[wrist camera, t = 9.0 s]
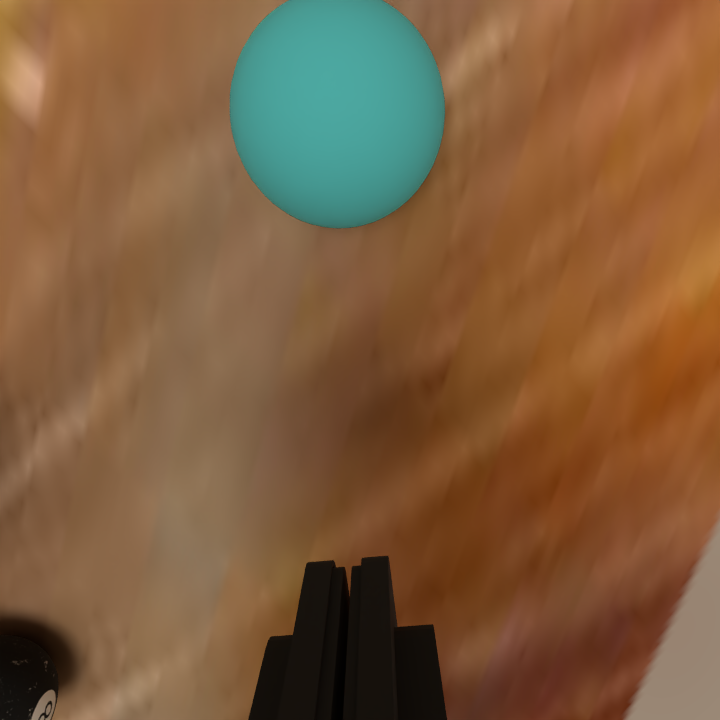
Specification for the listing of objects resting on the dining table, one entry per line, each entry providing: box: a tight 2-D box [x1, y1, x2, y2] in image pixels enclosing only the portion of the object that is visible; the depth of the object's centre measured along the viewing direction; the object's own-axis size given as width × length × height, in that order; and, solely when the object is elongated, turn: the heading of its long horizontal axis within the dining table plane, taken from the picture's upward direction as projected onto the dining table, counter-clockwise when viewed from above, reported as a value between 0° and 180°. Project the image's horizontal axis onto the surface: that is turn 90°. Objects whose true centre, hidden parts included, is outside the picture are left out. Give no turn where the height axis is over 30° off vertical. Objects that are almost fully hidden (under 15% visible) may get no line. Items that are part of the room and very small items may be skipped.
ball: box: [230, 0, 445, 228], centre depth 14 cm, size 6×6×6 cm
